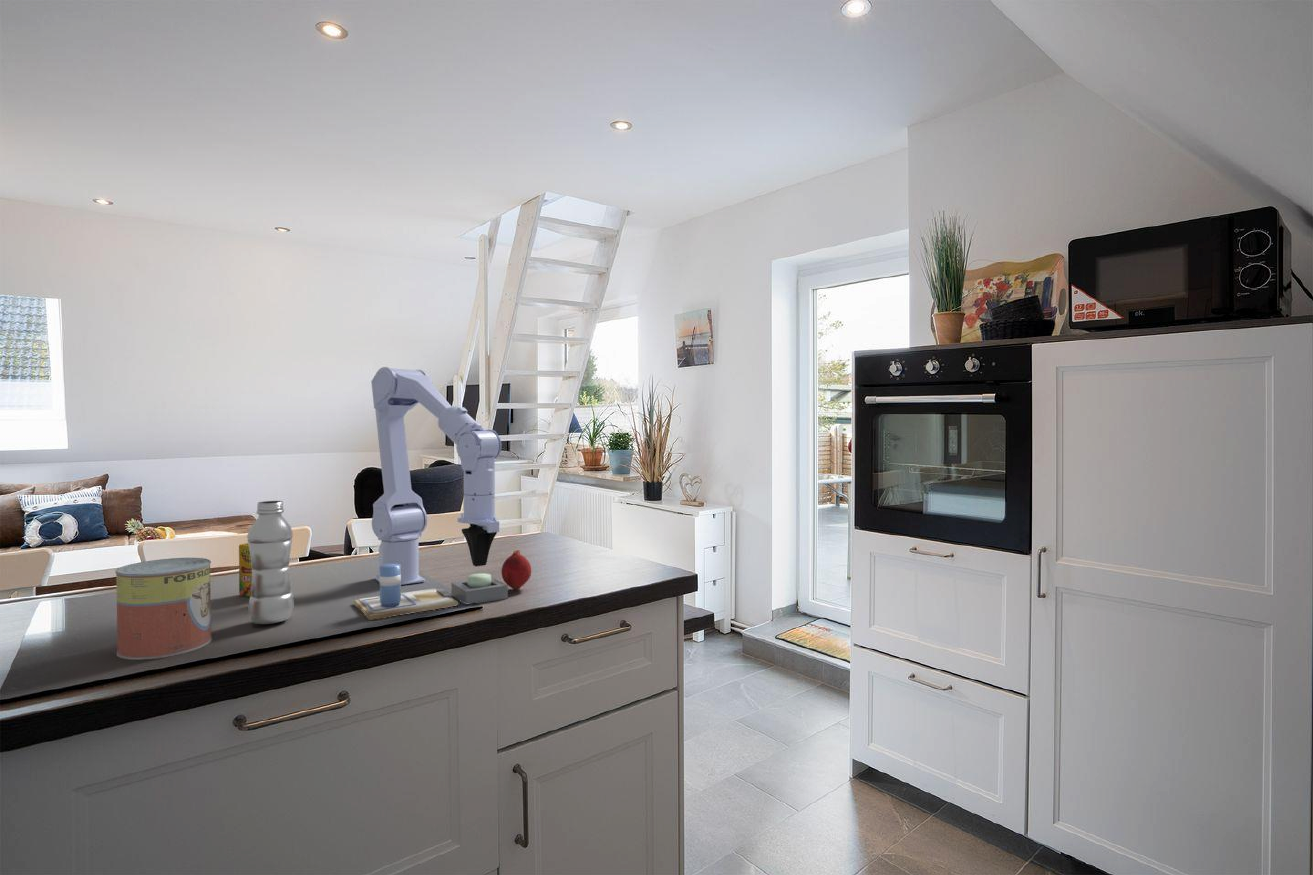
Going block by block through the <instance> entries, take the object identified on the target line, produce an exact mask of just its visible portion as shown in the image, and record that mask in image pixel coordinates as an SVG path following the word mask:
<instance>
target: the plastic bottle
mask: <svg viewBox="0 0 1313 875" xmlns="http://www.w3.org/2000/svg"><path fill="white" fill-rule="evenodd" d="M284 511H285V510H284V500H265V501H264V500H263V501H258V502H257V510H256V515H258V516H257V519H256V520H255V521H254V522H253V523H252V524H251V527H250V528H249V530H248V533H247V535H246V538H247V543H248V545H249V551H250V556H251V566H252V586H251V597H249V600H248V607H247V608H248V609H247V612H248V616H249V619H250V621H251V622H252V623H254V624H258V625H272V624H277V623H280V622H284V621H286V620H288V619H290V618H291V617H292V615H293V613H294V608H295V602H294V594H293V592H292V586H291V576H290V575H291V574H290V561H291V560H290V559H291V557H290V556H291V550H292V549H291V548H292V542H293V530H292V529H293V528H292V527H291V526H290V524H289V523H288V521H287V520H286V519H285V518H284V517H283V513H284Z"/></svg>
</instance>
